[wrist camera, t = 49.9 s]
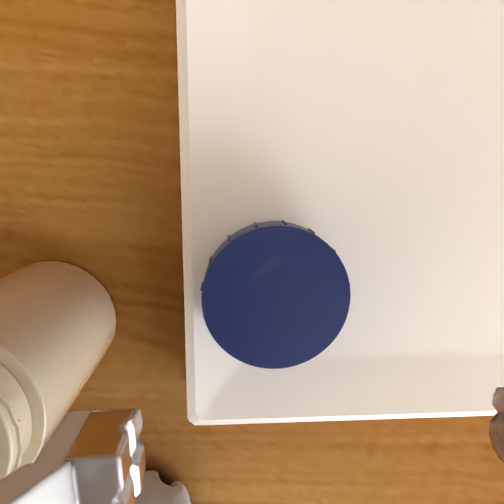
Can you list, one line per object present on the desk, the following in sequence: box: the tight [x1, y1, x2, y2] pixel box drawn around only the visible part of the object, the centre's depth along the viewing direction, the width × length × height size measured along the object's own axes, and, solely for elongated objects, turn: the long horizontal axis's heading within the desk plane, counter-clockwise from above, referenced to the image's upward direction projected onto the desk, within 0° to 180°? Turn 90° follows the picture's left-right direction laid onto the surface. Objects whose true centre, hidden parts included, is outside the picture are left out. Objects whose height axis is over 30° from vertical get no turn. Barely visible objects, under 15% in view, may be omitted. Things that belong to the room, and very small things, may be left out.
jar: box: [0, 261, 116, 480], centre depth 17 cm, size 7×7×10 cm
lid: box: [200, 220, 351, 369], centre depth 19 cm, size 7×7×2 cm
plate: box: [176, 0, 504, 425], centre depth 21 cm, size 26×26×2 cm
